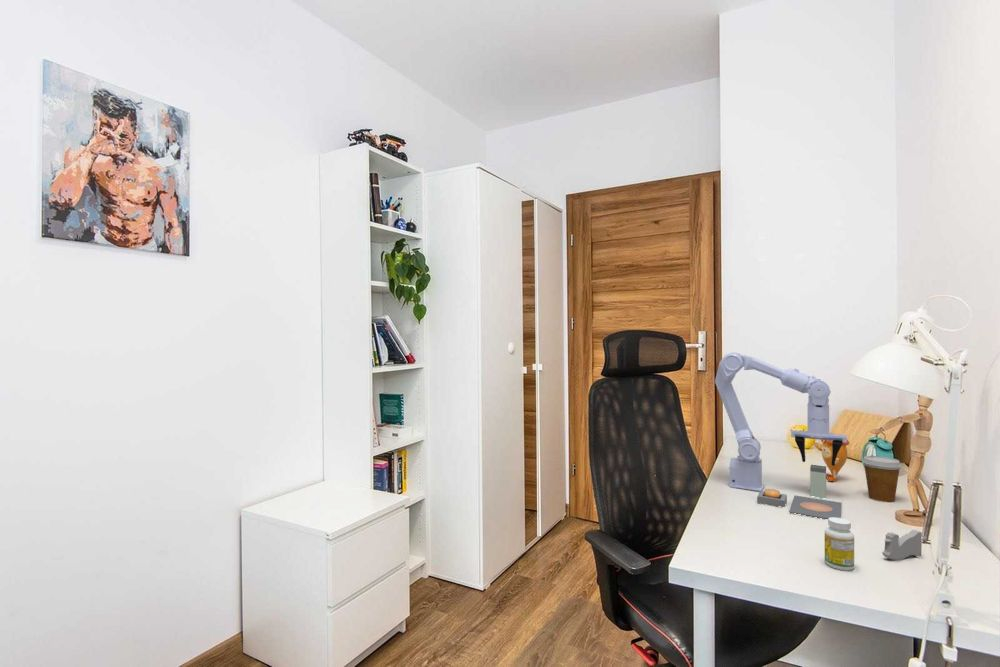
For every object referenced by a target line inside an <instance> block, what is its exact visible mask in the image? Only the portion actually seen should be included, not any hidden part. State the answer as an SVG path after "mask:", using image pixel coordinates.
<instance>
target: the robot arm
mask: <svg viewBox="0 0 1000 667" xmlns="http://www.w3.org/2000/svg"><path fill="white" fill-rule="evenodd" d="M742 369H743V371H751V370H753V371H754V370H755V371H758V372H760V373H763V374H766V375H768V376H771V377H773V378H776V379H779V380H780V383H781V384H782V385H783V386H785V387H787V388H789V389H792V390H793V391H794V390H795V391H797V392H800V393H802V394H808V395H807V396H808V399H807V401H808V402H807V430H793V429H792V430H791V431H790V437H791V438H794V441H795V443H796V446H797V447H798V450H799V452H800V456H801V461H802V462H803V463H805V462H806V449H805V448H806V439H809V440H820V441H821V440H828V441H833V442H832V454H833V455H832V465H833V466H835V460H836V456H837V454H838V452H839V450H840V448H841V446H842V442H845V443H847V440H848V439H847V438H848V437H847V435H846V434H839V433H831V432H830V404H829V402H830V399H829V397H830V394H831V388H830V386H829V384H827V382H825V381H824V380H822V379H820V378H816V376H815V375H808V374H806V373H803V372H800V370H799V369H798V368H794V369H792V368H787V369H782V368H779V367H777V366H775V365H773V364H770V363H767V362H765V361H764V360H760V359H758V358H756V357H753V356H750V355H746V354H741V353H739V352H730V353H727V354H725V355H724V356H723V357H722V359H721V360H720V361H719V364H718V368H717V371H716V376H715V379H714V383H715V385H716V388H717V391H718V394H719V396H720V398H721V401H722V403H723V406H724V409H725V411H726V413H727V416H728V419H729V421H730V423H731V426H732V428H733V431H734V434H735V439H736V442H737V445H738V447H737V452H738V455H737V457H731V458H730V460H729V485H728V486H729V487H731V488H737V489H744V490H748V491H754V492H755V491H756V492H760V491H763V489H764V488H765V487H766V486H765V484H763V474H762V473H763V472H762V471H763V466H762V465H763V462H762V460H763V459H762V458H761V457H760V455H761V448H762V447H761V443H760V441H759V440H758V439H756V438H755V435H754V434H753V432H752V430H751V428H750V426H749V424H748V421H747V419H746V417H745V416H746V415H745V413H744V411H743V409H742V407H741V403H740V401H739V399H738V397H737V394H736V391H735V388H734V387H733V384H732V382H733V381H734V378H735V377H736V374H738V373H739V372H740V370H742Z"/></svg>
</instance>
